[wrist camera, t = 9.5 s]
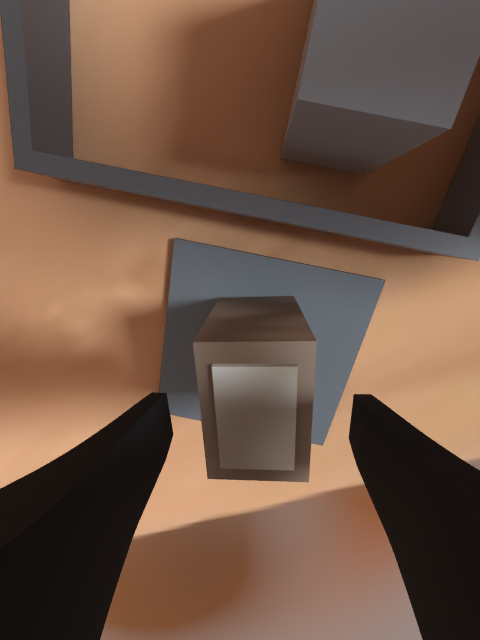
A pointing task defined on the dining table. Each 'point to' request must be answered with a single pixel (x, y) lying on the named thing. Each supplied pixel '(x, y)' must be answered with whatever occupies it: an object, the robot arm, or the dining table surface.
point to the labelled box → (256, 389)
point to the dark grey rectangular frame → (57, 162)
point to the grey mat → (257, 281)
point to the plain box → (379, 79)
